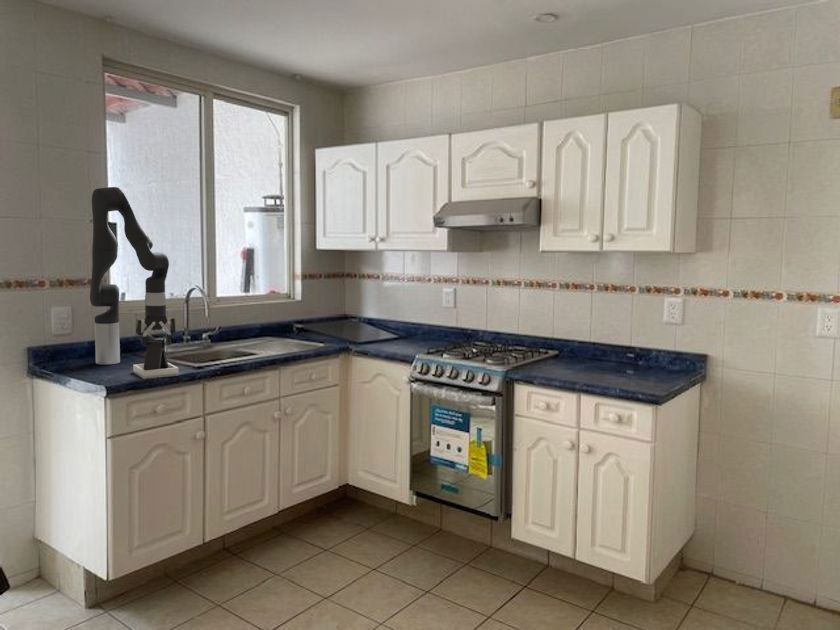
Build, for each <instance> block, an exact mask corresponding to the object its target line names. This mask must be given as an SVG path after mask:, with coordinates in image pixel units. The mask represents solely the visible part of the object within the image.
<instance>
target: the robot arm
mask: <svg viewBox="0 0 840 630" xmlns="http://www.w3.org/2000/svg"><path fill="white" fill-rule="evenodd" d="M91 211H92V246H91V247H92V248H91V249H92V250H91V253H92V255H91V258H92V259H91V261H92V263H91V264H92V265H91V266H92V267H91V280H90V287H89V302H90V304H91V305H92V307H94V308H95V307H97V308H98V307H99V308H100V307H109V309H108V310H106V311H105V312H102V313H99V314H97V315H95V316H94V341H95V342H94V345H95V346H94V347H95V364H96V365H101V366H102V365H105V366H106V365H116V364H119V363H121V355H120V354H121V348H120V346H121V343H120V317H119V316H120V288H119V286H118V285H117V284H101V283H102V280H103V278H104V276H105V274H106V273H107V272H108V271H109V270H110V268H111V267H112V266H113V265H114V264H115V263H116V260H117V258H118V249H119V242H118V239H117V237H116V235H115V234H114V232H113V231H112V229H111V228H110V226H109V223H108V213H109V212H115V211H116V212H118V213H119V214H120V215H121V217H122V218H123V222H124V225H123V227H124V228H123V229H124V231H123V232H124V234H125V237H126V239H127V242H129V244H130V246H132V248H133V249H134V251H135V254H136V256H137V259H138V262H139V265H140V267H142V268H143V269H144V270H145V271H148V272H152V274H151V275H150V276H148V277H147V278H146V279H145V295H144V310H145V311H144V313H145V314H144V316H145V318H144V319H140V318H138V319H136V325H135V334H136V335H138V336H140V339H141V341H140V343H141V344H142V345H143V346H144V347H146V343H147V335H148V333H150V332H151V331H157V330H159V331H160V330H162V331H163V332H164V333H165V337H164V338H165V344H166V345H170V343H171V335H172V334H175V333H176V332H177V331H176V321H175V318H173V317H168V318H167V298H166V279H167V276H168V271H169V267H170V262H169V261H170V260H169V258H168V255H167V254H166V253H164V252H161V251H159V252H157V251H156V252H152V251H151V250H152V248H153V245H154V243H153V241H152V239H151V238H150V237H149V236H148V235H147V233H146V231H145V230H144V228H143V227H142V225H141V224H140V222H139V220H138V219H137V216H136V214H135V212H134V210H133V207H132V206H131V204H130V201H129V200H128V197H127V196H126V194H125V192H124V191H123V190H122V189H121V188H120V187H117V186H109V187H100V188H95V189H94V190H93V191H92V194H91ZM167 322H168V324H169V327H170V328H169V329H168V327H167V326H166V324H167ZM144 324H145V325H146V326H145V327H144V328H143V330H142V326H143V325H144Z"/></svg>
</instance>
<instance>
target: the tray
mask: <svg viewBox="0 0 840 630" xmlns="http://www.w3.org/2000/svg"><path fill="white" fill-rule="evenodd" d="M167 363H168V368H167V369H156V370H144V369H143V368H144V363H138V364H132V365H133V366H132V369H133V370H132V372H133V373H134V374H135V375H137V376H138V377H140V378H141V379H143V380H145V379H147V378H148V379H158V378H166V377H178V376H179V373H180V372H179V371H180V370H179V367H178V366H176V365H174V364H173V363H170V362H168V361H167ZM157 377H158V378H157Z"/></svg>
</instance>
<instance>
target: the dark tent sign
mask: <svg viewBox="0 0 840 630" xmlns="http://www.w3.org/2000/svg"><path fill="white" fill-rule="evenodd" d="M165 344H166V342H165V341H163V340H146V346H145V347H146V349H145V356H144V362H143V364H144V368H143V369H144V370H156V369H167V368H168V363H169V362H168V360H167V359H168V358H167V353H166V349H165V347H166V346H165ZM167 362H168V363H167Z"/></svg>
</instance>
